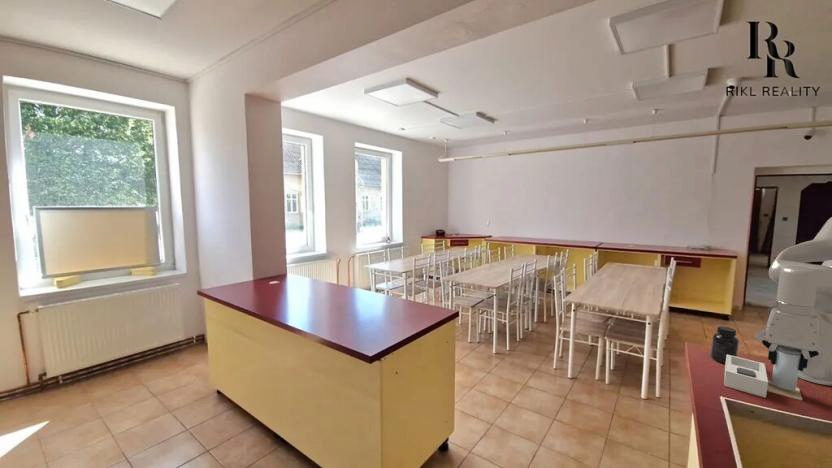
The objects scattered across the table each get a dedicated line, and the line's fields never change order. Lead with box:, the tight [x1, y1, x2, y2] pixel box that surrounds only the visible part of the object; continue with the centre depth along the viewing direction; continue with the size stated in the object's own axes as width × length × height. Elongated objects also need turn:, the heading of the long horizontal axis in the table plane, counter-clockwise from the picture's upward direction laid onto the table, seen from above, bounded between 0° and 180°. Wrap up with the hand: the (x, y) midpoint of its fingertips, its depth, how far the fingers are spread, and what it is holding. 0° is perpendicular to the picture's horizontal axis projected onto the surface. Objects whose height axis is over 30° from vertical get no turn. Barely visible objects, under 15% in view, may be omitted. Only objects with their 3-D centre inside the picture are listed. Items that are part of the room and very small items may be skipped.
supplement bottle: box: [710, 325, 740, 365], centre depth 117 cm, size 7×7×12 cm
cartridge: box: [770, 345, 802, 390], centre depth 99 cm, size 5×5×12 cm
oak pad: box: [767, 379, 803, 401], centre depth 100 cm, size 7×7×1 cm
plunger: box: [738, 367, 754, 377], centre depth 101 cm, size 3×3×4 cm
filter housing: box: [723, 354, 769, 399], centre depth 105 cm, size 14×9×5 cm, turn 136°
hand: (786, 365), depth 99 cm, fingers closed on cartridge, 5 cm apart
